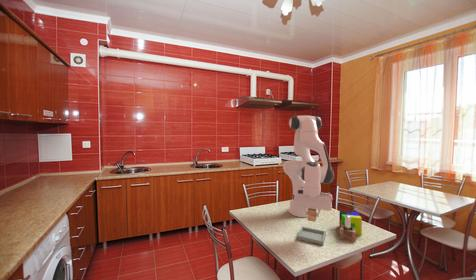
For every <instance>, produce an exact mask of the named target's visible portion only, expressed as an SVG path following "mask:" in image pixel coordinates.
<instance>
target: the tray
mask: <svg viewBox="0 0 476 280" xmlns="http://www.w3.org/2000/svg"><path fill="white" fill-rule="evenodd" d="M326 232H327V231H325V230H321V229H316V228H311V227H306V226H301V228H300V230H299V232H298V234H297V236H296V240H297V241H302V242H305V243H309V244H315V245H319V246H324V243H325V238H326V236H327V235H326Z"/></svg>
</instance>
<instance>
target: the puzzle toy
mask: <svg viewBox="0 0 476 280" xmlns="http://www.w3.org/2000/svg"><path fill="white" fill-rule="evenodd" d="M345 215H349V216H351V226H352V227H356V236H362V231H363V230H362V227H363V226H362V224H363V220H362V218H363V217H361V215H360V214H359V212H357V211H349V210H348V211H347V210H339V222H338V223H339V228H340V227H341V225H345Z"/></svg>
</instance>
